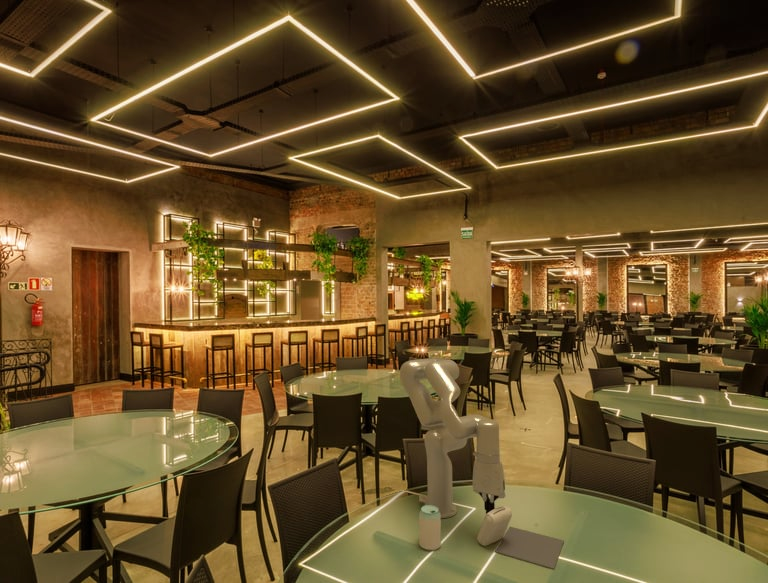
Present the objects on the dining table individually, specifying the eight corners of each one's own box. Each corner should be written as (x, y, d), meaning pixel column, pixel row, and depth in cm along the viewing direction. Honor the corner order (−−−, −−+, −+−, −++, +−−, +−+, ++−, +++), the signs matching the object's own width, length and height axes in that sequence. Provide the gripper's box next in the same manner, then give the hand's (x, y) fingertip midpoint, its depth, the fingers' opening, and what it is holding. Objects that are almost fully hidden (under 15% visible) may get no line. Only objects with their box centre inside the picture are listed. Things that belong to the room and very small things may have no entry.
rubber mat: (494, 552, 139) (494, 551, 139) (509, 527, 154) (509, 526, 154) (554, 569, 130) (554, 568, 130) (563, 541, 145) (563, 540, 145)
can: (442, 542, 145) (442, 505, 146) (438, 553, 139) (438, 515, 139) (422, 538, 148) (422, 502, 148) (417, 549, 141) (416, 512, 141)
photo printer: (495, 528, 150) (506, 500, 147) (504, 538, 147) (516, 510, 143) (474, 537, 145) (485, 509, 141) (483, 548, 141) (494, 519, 138)
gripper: (463, 457, 148) (464, 512, 147) (507, 464, 140) (508, 522, 139) (471, 450, 154) (472, 503, 153) (513, 457, 146) (515, 513, 145)
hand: (489, 512), depth 146 cm, fingers closed
